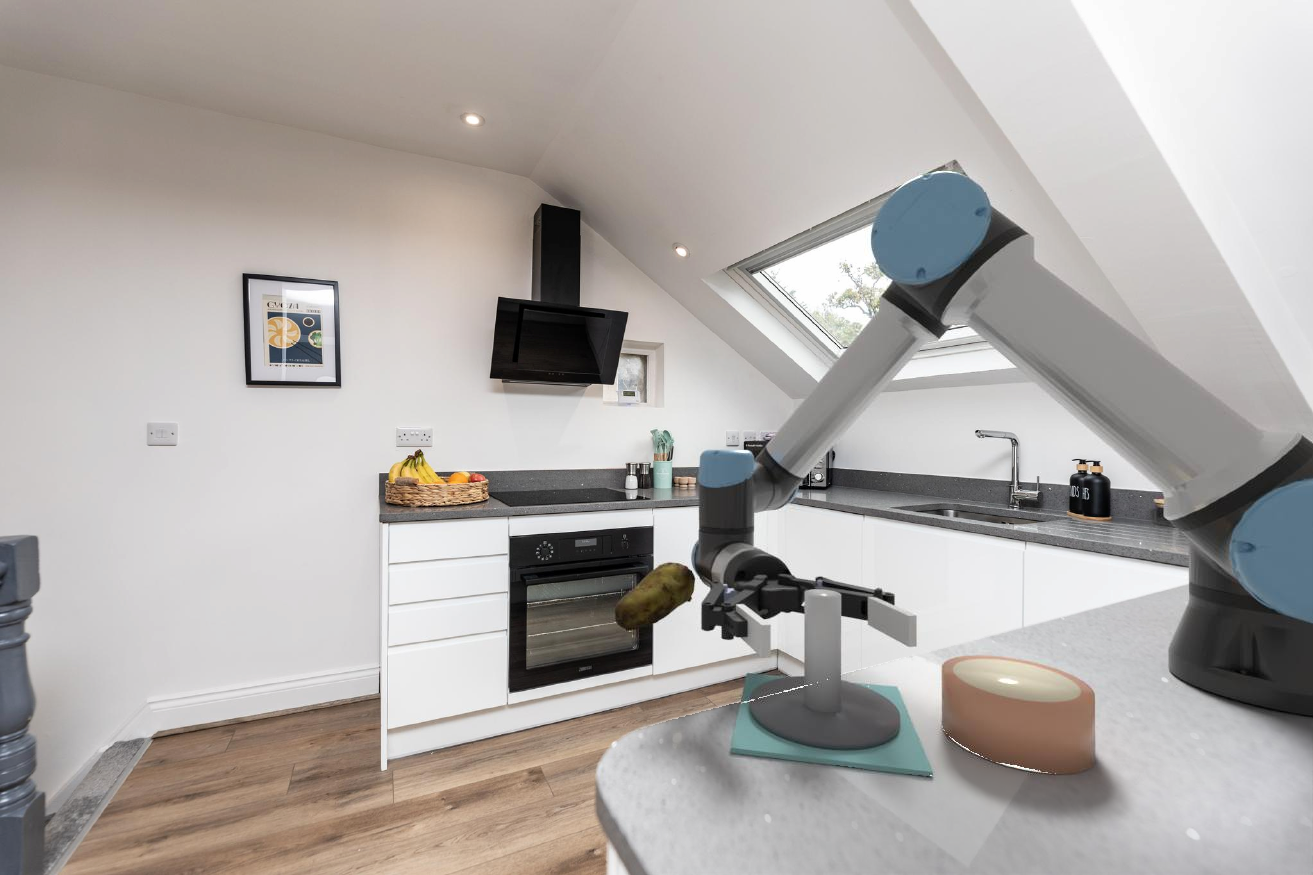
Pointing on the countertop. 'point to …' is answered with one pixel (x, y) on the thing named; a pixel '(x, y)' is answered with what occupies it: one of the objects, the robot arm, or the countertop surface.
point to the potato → (655, 596)
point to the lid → (824, 692)
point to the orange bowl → (1019, 713)
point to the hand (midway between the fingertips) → (841, 636)
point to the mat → (890, 757)
